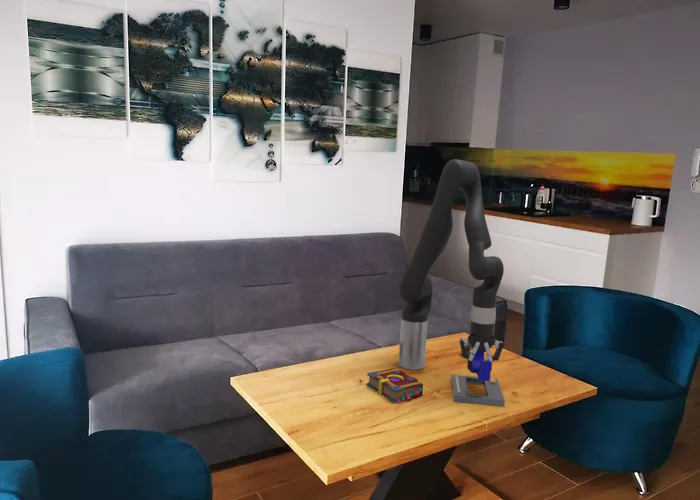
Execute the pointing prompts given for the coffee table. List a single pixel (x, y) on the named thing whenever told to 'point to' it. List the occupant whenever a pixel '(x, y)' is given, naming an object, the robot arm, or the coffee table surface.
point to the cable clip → (481, 366)
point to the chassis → (463, 395)
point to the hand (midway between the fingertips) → (479, 371)
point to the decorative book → (395, 385)
